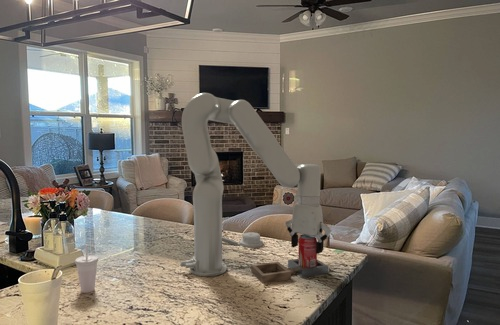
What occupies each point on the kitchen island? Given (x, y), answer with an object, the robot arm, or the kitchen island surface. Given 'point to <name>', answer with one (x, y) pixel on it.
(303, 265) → the soda can
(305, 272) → the socket
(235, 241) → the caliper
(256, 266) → the stand socket
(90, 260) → the smoothie
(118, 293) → the kitchen island surface
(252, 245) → the mechanical component
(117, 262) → the kitchen island surface
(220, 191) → the robot arm
